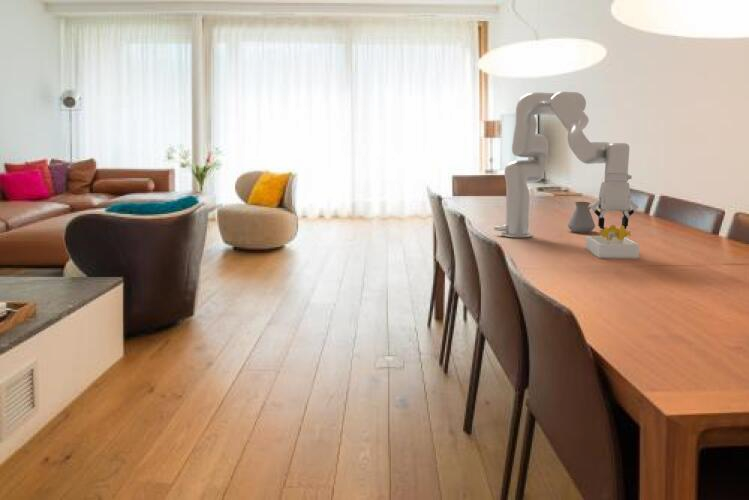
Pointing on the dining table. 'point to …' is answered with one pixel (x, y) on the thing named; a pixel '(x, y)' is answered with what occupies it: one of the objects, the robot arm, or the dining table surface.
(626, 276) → the dining table surface
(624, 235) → the pressure relief valve
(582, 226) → the coffee pot
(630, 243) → the bin
